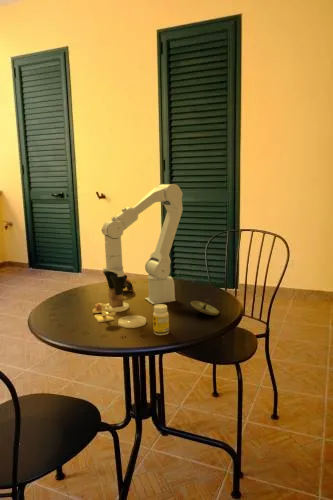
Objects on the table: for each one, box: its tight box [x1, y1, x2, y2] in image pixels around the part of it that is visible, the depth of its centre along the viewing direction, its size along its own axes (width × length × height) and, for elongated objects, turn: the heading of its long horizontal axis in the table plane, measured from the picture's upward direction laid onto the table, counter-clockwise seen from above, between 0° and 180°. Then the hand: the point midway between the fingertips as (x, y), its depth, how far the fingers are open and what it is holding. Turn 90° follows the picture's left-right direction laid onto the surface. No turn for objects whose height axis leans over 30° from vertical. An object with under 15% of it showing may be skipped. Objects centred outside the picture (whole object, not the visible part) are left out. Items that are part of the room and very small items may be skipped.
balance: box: [92, 302, 117, 323], centre depth 136 cm, size 5×17×6 cm, turn 24°
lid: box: [189, 299, 220, 317], centre depth 139 cm, size 11×10×5 cm
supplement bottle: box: [152, 303, 170, 336], centre depth 122 cm, size 5×5×8 cm
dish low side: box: [105, 301, 130, 313], centre depth 147 cm, size 9×9×1 cm
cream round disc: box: [117, 314, 147, 329], centre depth 132 cm, size 9×9×1 cm
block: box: [108, 288, 124, 308], centre depth 147 cm, size 4×4×6 cm
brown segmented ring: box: [123, 278, 135, 294], centre depth 167 cm, size 12×10×8 cm
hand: (115, 292), depth 146 cm, fingers open, 7 cm apart
